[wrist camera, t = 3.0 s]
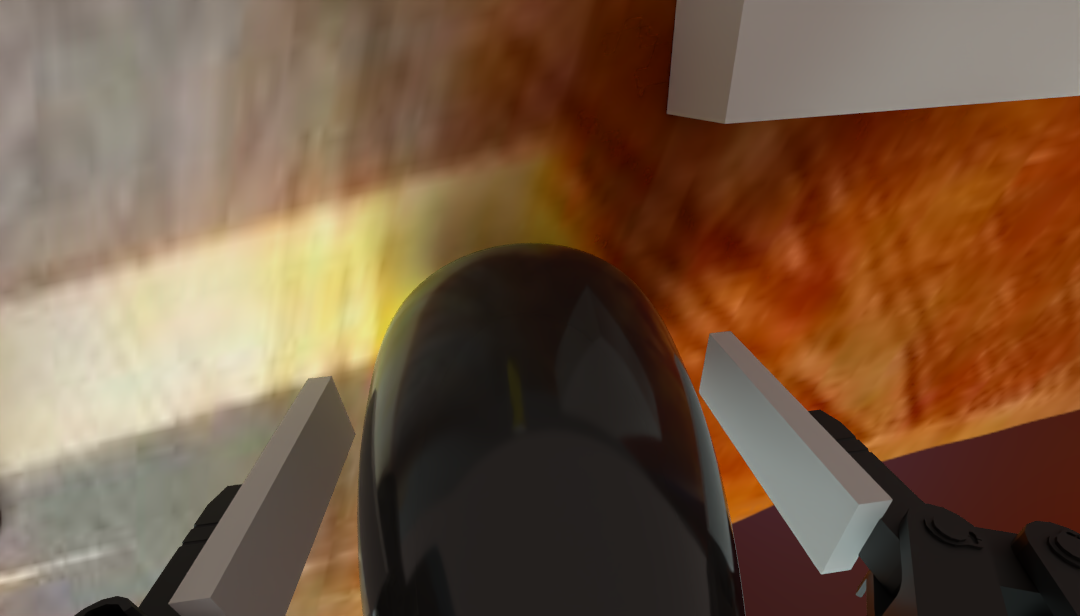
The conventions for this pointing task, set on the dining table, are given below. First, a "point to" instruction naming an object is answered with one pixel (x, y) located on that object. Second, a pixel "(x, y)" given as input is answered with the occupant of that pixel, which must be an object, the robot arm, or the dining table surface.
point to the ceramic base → (867, 56)
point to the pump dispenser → (538, 451)
